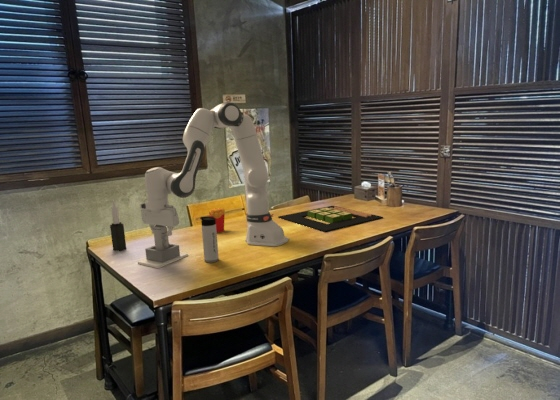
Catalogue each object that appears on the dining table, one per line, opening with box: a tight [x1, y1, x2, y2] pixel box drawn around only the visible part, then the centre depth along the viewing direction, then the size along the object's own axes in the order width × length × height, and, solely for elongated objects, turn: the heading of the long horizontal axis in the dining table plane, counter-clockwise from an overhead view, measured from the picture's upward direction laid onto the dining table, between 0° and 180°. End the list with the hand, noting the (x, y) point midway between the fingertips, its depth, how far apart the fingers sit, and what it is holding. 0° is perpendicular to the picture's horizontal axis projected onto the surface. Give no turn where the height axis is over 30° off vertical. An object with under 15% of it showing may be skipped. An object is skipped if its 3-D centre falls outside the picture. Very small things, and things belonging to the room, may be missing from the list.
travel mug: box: [200, 216, 220, 264], centre depth 177 cm, size 6×7×20 cm
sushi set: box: [277, 205, 384, 233], centre depth 245 cm, size 45×45×4 cm
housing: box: [137, 243, 189, 269], centre depth 182 cm, size 13×18×6 cm
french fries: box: [208, 207, 226, 233], centre depth 225 cm, size 9×4×13 cm, turn 117°
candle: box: [109, 199, 127, 252], centre depth 199 cm, size 5×5×25 cm
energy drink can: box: [153, 225, 170, 251], centre depth 181 cm, size 6×6×15 cm
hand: (162, 234), depth 180 cm, fingers open, 8 cm apart
